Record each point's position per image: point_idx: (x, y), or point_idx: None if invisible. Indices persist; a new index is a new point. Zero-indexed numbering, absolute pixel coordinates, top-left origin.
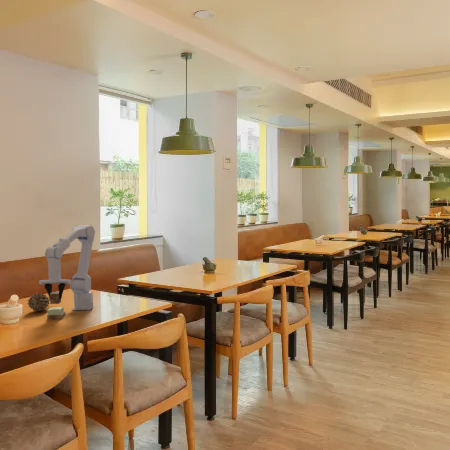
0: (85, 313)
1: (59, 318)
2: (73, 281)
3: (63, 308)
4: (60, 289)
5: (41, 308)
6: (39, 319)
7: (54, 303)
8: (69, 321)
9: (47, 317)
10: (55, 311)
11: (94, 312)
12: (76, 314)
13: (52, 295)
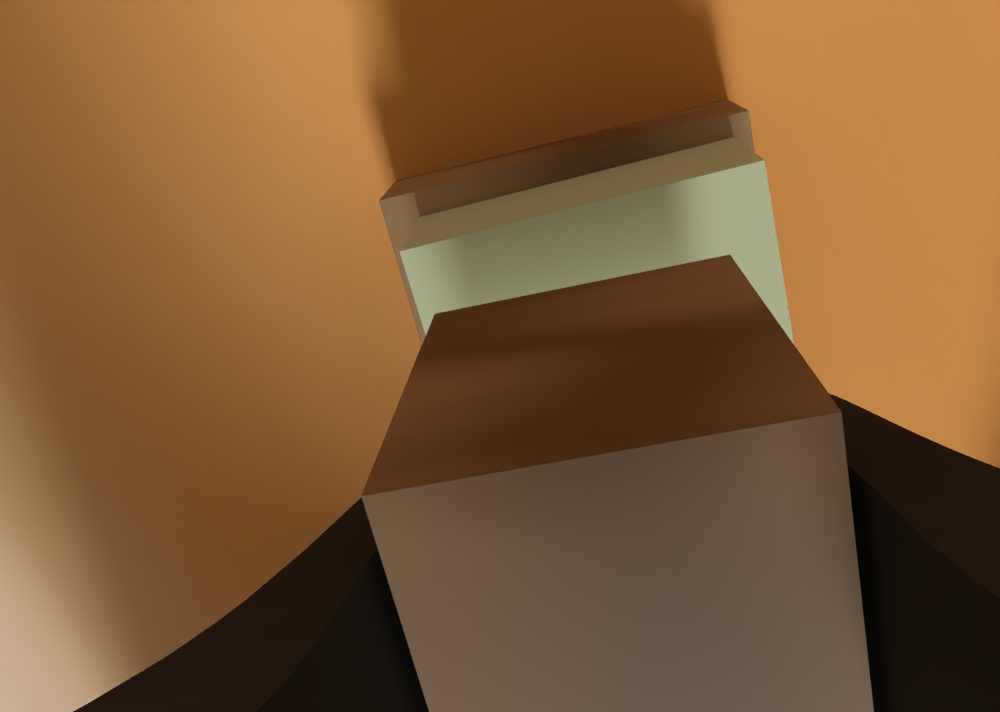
0: (171, 634)
1: (449, 170)
2: None
3: None
4: (170, 698)
5: None
6: (935, 99)
7: (578, 287)
8: (110, 2)
9: (731, 107)
10: (542, 206)
11: (49, 703)
12: None
13: (677, 397)
